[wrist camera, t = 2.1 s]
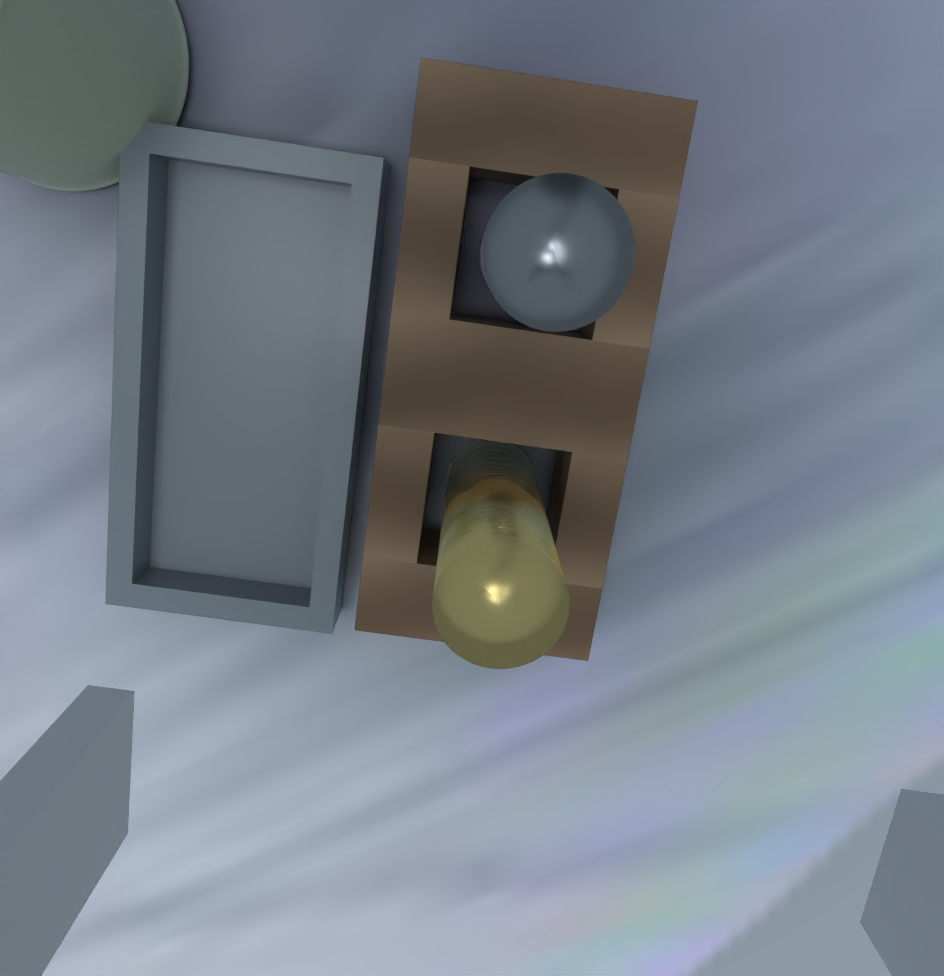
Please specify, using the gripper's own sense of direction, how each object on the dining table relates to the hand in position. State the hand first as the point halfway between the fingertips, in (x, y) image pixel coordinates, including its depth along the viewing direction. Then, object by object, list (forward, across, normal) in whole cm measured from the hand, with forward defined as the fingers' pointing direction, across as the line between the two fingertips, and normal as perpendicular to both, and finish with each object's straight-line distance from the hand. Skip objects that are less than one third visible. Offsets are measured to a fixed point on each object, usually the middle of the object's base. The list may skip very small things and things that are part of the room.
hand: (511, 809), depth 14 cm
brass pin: (+21, 0, 0) cm, 21 cm away
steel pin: (+21, 0, +9) cm, 23 cm away
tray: (+21, -10, +3) cm, 23 cm away
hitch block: (+21, 0, +5) cm, 22 cm away
